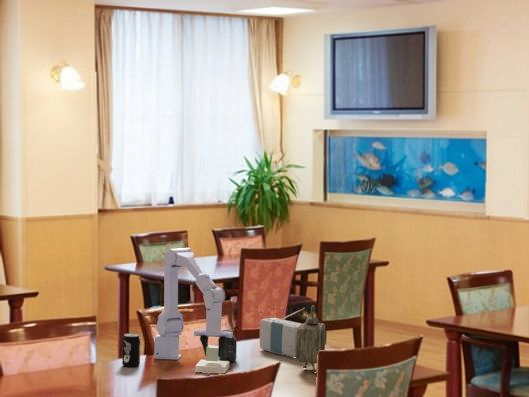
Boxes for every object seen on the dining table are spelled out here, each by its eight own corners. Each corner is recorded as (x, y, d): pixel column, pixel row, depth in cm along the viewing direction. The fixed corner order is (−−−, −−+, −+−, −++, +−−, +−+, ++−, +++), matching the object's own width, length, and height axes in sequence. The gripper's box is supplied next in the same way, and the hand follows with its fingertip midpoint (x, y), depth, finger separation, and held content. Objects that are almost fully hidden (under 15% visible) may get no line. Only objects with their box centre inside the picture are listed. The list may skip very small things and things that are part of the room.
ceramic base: (195, 373, 396) (195, 365, 396) (200, 367, 407) (200, 359, 407) (224, 375, 395) (224, 367, 394) (229, 368, 405) (229, 361, 405)
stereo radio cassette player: (258, 350, 439) (259, 302, 437) (273, 348, 444) (274, 300, 443) (293, 359, 423) (295, 309, 422) (308, 357, 429) (309, 308, 427)
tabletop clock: (318, 375, 397) (320, 308, 396) (294, 373, 399) (296, 307, 398) (324, 367, 412) (326, 302, 410) (301, 365, 413) (303, 301, 412)
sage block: (205, 360, 399) (206, 347, 398) (207, 358, 403) (208, 345, 403) (217, 361, 398) (218, 348, 398) (219, 358, 403) (220, 345, 402)
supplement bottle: (237, 359, 420) (238, 329, 419) (235, 363, 413) (235, 332, 413) (220, 358, 421) (220, 328, 420) (217, 362, 414) (218, 331, 413)
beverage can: (118, 366, 402) (119, 335, 401) (128, 363, 408) (129, 332, 407) (133, 368, 399) (133, 337, 398) (143, 365, 405) (143, 334, 404)
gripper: (192, 320, 396) (191, 356, 397) (231, 322, 395) (230, 359, 396) (196, 317, 403) (195, 353, 404) (234, 319, 402) (233, 355, 403)
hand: (212, 355), depth 400 cm, fingers closed on sage block, 4 cm apart
